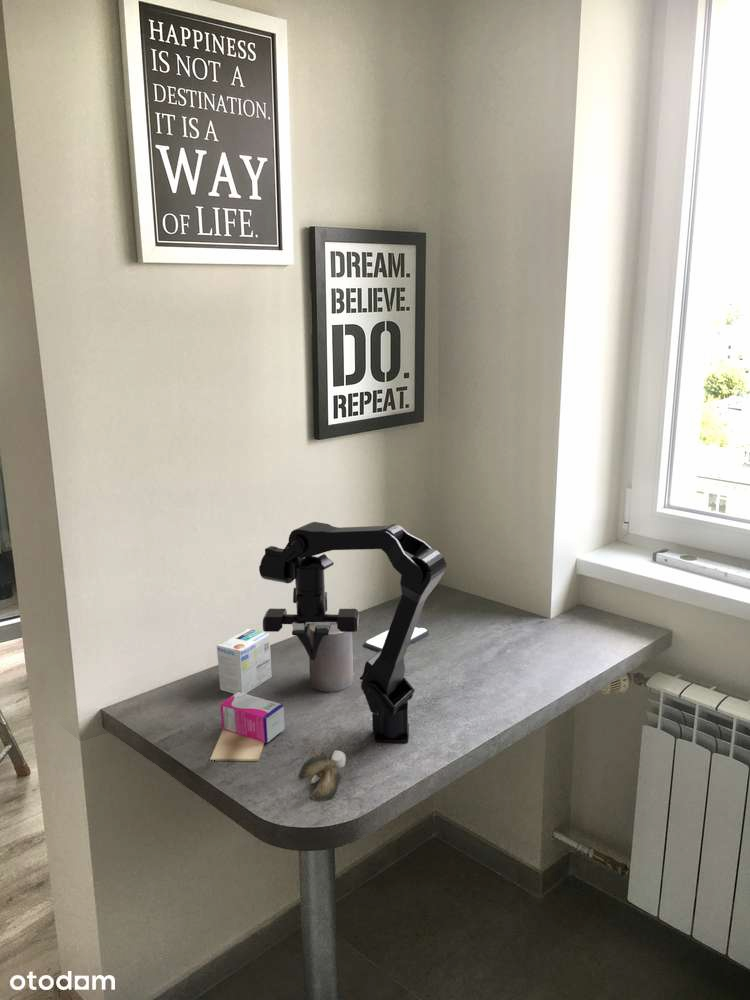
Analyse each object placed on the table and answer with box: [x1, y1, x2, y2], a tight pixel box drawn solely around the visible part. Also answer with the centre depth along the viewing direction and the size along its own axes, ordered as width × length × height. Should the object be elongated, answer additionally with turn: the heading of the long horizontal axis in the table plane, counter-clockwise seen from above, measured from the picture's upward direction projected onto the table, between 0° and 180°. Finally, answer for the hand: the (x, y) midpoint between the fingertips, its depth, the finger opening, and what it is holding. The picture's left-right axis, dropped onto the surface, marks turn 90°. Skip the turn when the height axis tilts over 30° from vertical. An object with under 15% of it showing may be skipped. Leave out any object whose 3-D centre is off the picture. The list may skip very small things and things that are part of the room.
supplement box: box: [219, 692, 286, 744], centre depth 164 cm, size 6×6×12 cm
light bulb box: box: [216, 628, 273, 695], centre depth 184 cm, size 11×7×11 cm, turn 149°
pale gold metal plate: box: [209, 729, 266, 762], centre depth 162 cm, size 9×14×1 cm, turn 177°
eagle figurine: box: [297, 746, 347, 803], centre depth 146 cm, size 8×7×9 cm
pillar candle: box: [308, 624, 354, 693], centre depth 183 cm, size 10×10×15 cm
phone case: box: [363, 625, 430, 653], centre depth 206 cm, size 9×2×16 cm
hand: (313, 659), depth 169 cm, fingers closed
